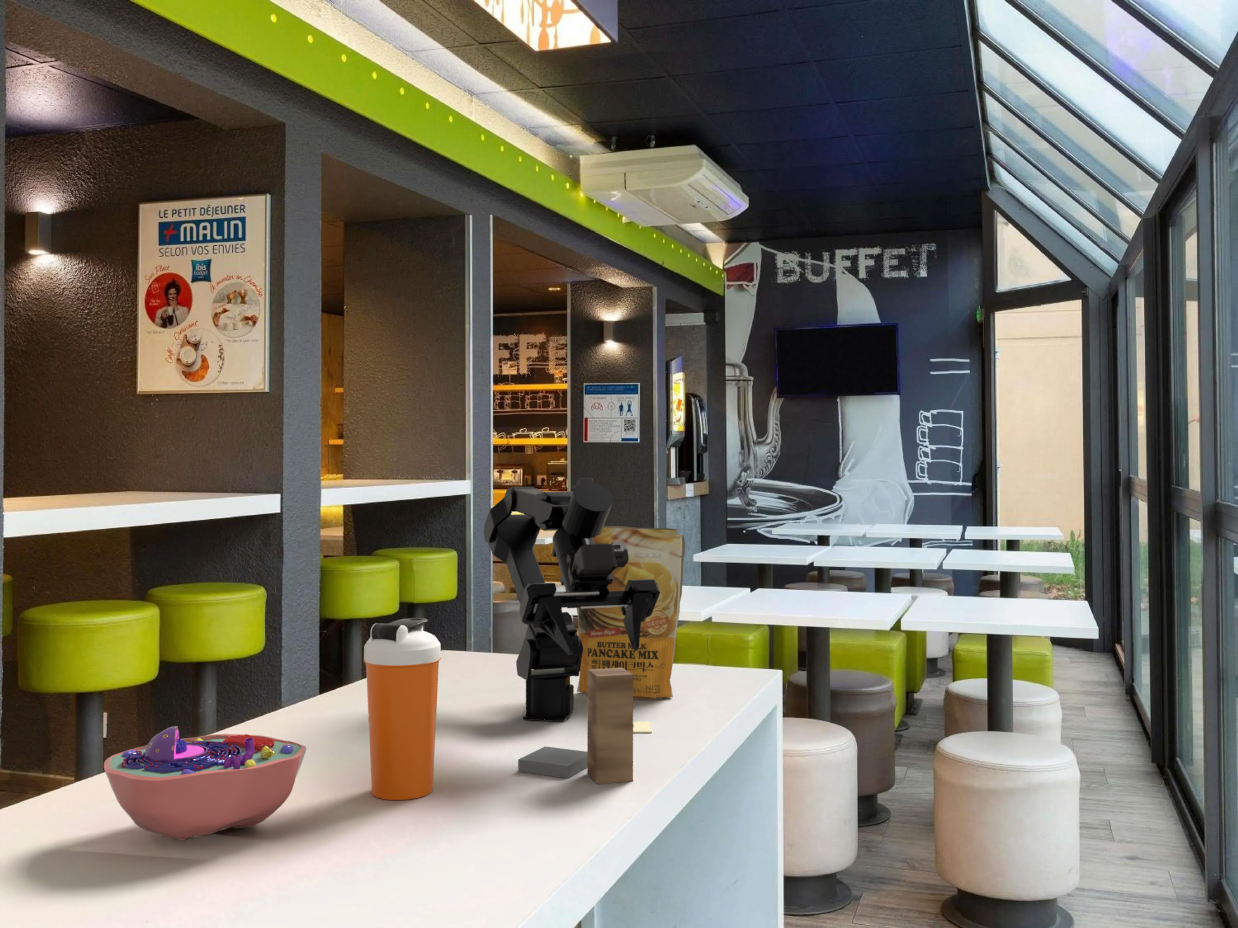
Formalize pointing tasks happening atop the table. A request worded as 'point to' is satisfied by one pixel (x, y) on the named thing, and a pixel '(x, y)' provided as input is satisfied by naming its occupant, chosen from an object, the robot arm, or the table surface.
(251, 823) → the cell model
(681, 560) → the pancake mix bag
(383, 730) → the shaker bottle
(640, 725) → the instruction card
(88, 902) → the table surface
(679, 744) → the table surface
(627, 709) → the pillar
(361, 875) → the table surface
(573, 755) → the base plate
